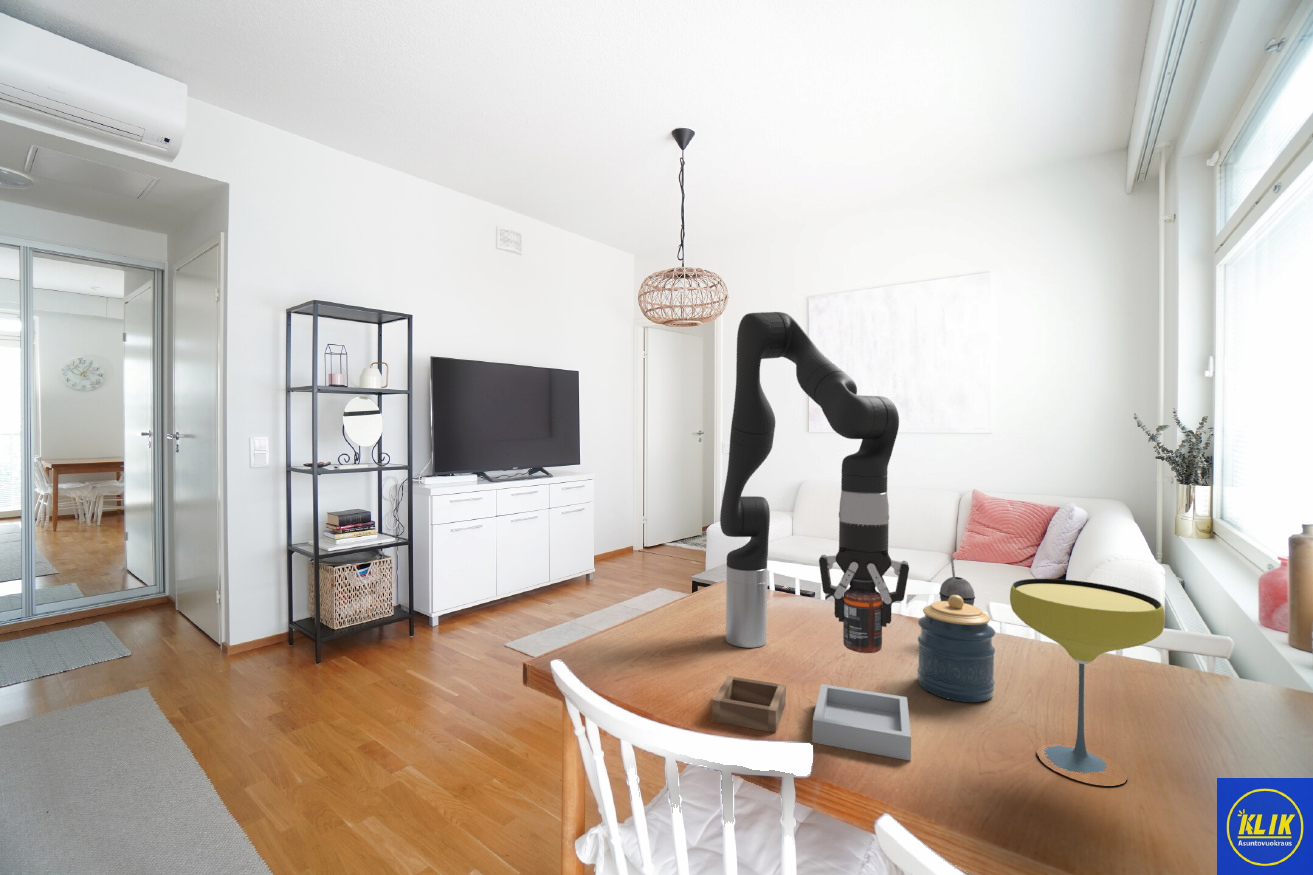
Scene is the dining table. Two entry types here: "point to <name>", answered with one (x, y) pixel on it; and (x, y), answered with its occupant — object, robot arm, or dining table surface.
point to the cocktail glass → (1085, 635)
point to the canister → (956, 651)
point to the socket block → (749, 712)
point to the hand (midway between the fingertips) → (862, 622)
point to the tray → (863, 721)
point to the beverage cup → (957, 588)
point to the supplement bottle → (862, 617)
